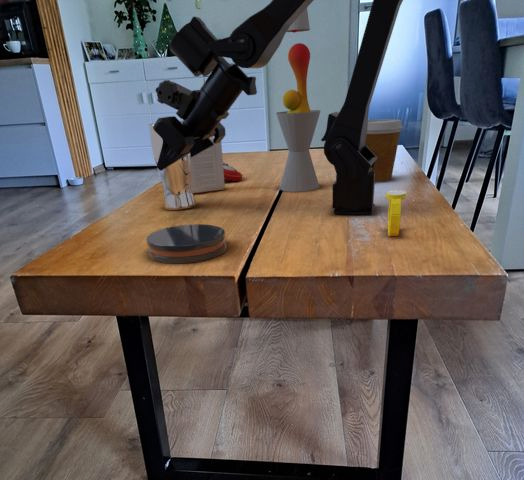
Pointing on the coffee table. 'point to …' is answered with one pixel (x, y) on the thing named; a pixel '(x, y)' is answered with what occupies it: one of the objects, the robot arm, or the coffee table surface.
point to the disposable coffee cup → (383, 145)
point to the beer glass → (174, 177)
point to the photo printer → (208, 169)
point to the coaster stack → (186, 243)
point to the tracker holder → (231, 173)
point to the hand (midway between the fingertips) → (167, 165)
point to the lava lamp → (298, 119)
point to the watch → (394, 211)
